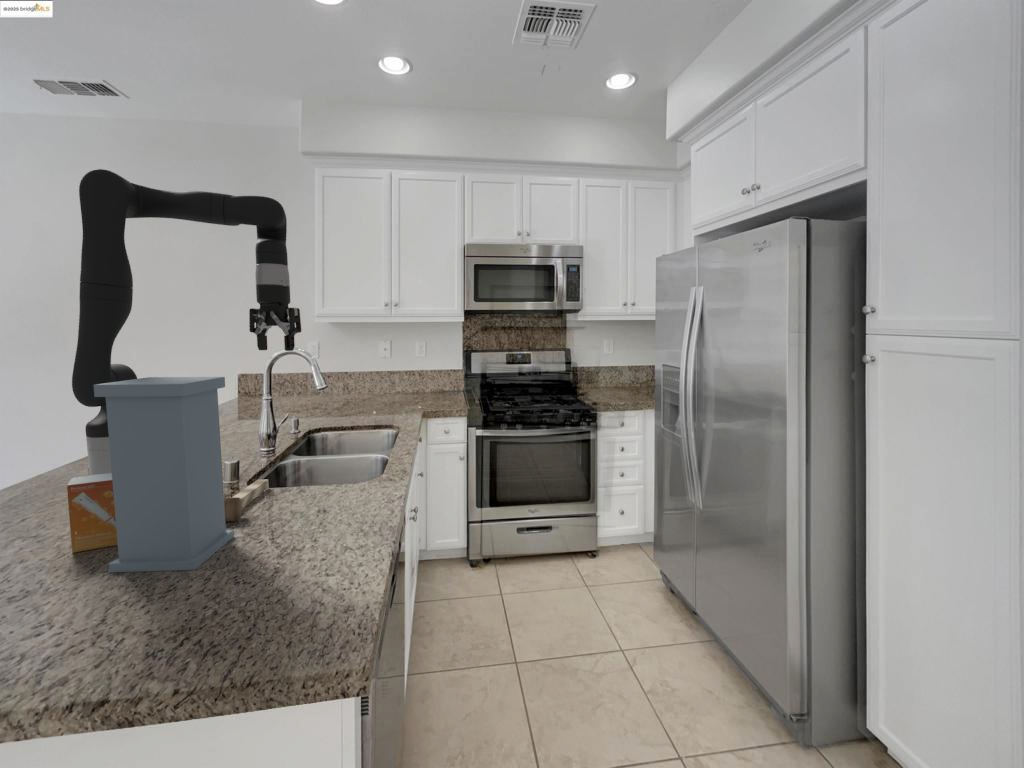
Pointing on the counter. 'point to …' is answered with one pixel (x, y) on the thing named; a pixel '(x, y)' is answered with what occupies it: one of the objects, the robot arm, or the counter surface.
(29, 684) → the counter surface
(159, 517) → the stand
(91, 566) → the counter surface
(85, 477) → the small box
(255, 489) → the mallet
